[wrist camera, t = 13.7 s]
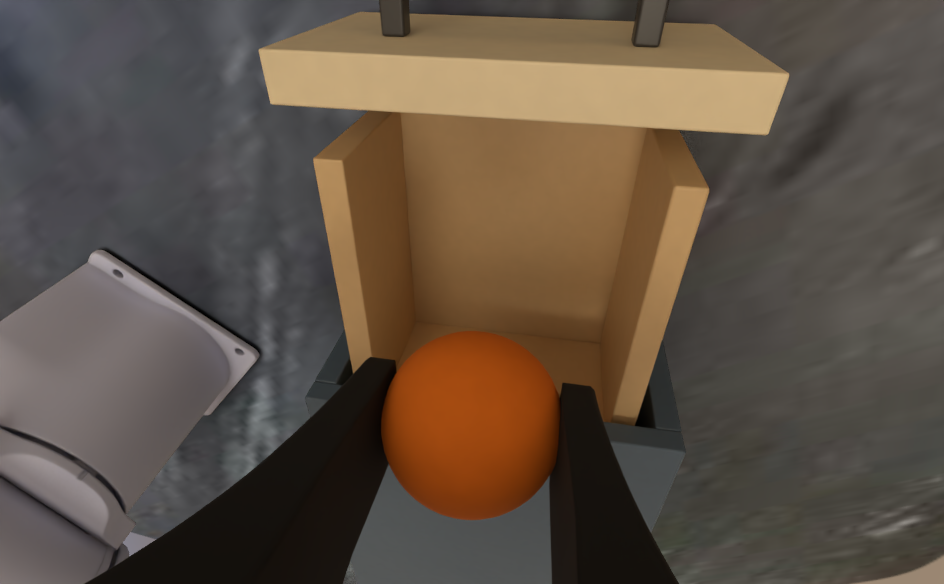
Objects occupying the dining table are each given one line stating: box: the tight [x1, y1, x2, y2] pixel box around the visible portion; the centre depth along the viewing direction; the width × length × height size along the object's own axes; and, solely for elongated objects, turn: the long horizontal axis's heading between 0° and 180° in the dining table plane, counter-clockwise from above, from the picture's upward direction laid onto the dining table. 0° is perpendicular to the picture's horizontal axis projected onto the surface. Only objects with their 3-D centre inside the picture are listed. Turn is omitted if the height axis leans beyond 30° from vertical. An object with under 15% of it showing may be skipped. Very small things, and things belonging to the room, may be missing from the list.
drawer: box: [259, 0, 789, 426], centre depth 15 cm, size 17×11×6 cm, turn 0°
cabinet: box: [305, 330, 686, 584], centre depth 23 cm, size 14×12×8 cm
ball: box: [381, 331, 560, 520], centre depth 11 cm, size 4×4×4 cm
